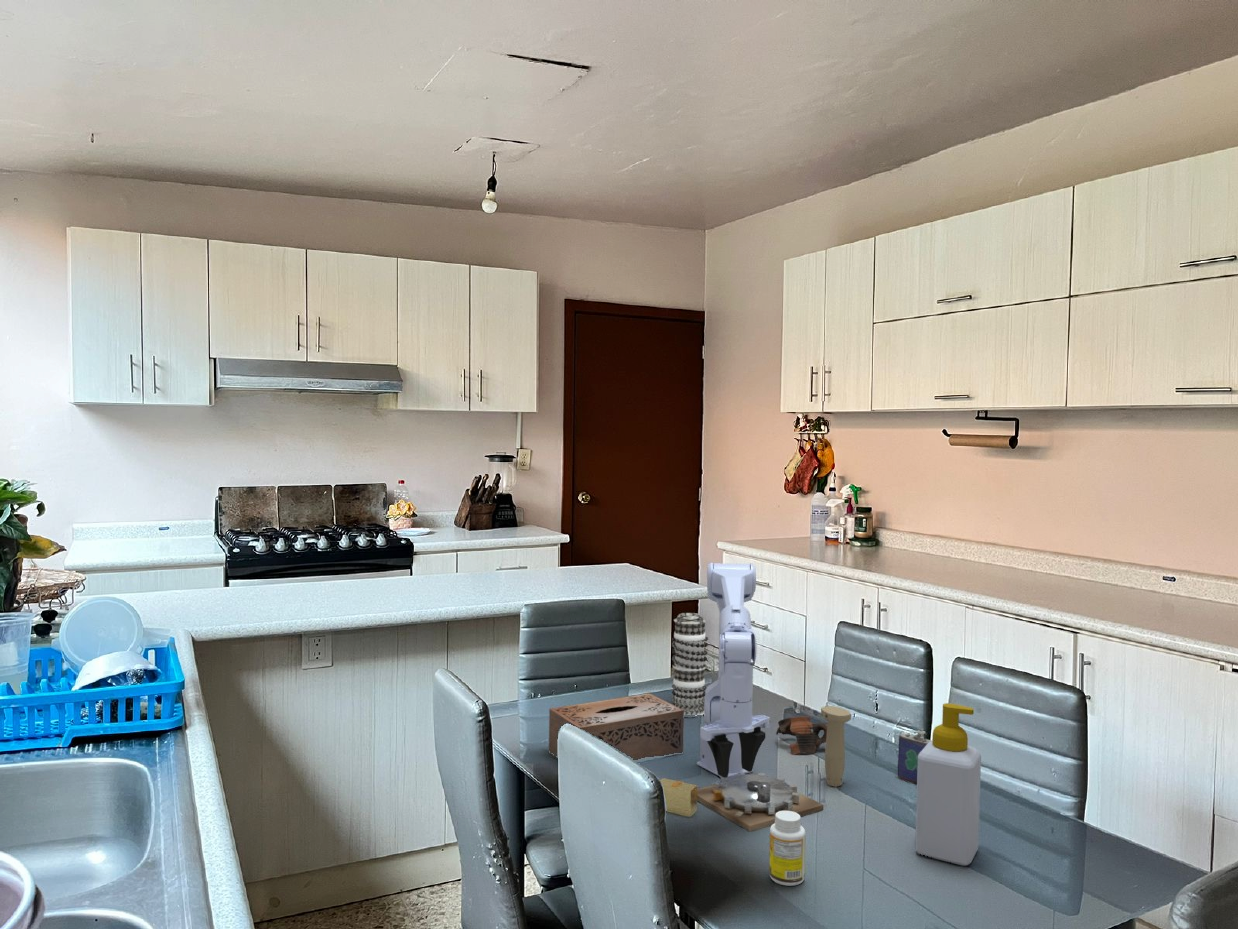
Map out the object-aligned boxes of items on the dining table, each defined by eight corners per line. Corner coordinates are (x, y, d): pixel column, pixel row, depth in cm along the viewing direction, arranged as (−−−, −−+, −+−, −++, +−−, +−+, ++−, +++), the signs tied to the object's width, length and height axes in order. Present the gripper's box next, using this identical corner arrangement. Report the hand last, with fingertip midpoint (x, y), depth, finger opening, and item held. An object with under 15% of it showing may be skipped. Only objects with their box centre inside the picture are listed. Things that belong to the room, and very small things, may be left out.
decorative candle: (708, 719, 222) (710, 618, 221) (671, 718, 222) (672, 618, 221) (705, 707, 231) (707, 611, 230) (669, 707, 231) (671, 610, 230)
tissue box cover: (578, 776, 185) (579, 728, 184) (548, 753, 197) (549, 708, 197) (682, 755, 197) (683, 710, 197) (648, 735, 210) (649, 693, 210)
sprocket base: (689, 796, 174) (689, 790, 174) (759, 778, 184) (759, 772, 184) (749, 831, 159) (750, 825, 159) (823, 810, 169) (823, 803, 169)
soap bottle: (969, 869, 146) (973, 717, 146) (913, 855, 151) (917, 707, 150) (979, 848, 154) (984, 703, 153) (926, 835, 159) (929, 694, 158)
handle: (835, 792, 178) (836, 717, 177) (814, 780, 183) (816, 707, 183) (854, 788, 180) (856, 714, 179) (833, 776, 185) (835, 705, 185)
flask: (944, 786, 181) (945, 734, 181) (939, 790, 179) (940, 737, 179) (900, 774, 187) (901, 724, 187) (894, 778, 185) (895, 727, 185)
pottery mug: (777, 757, 198) (771, 719, 202) (784, 762, 206) (778, 726, 210) (832, 748, 195) (824, 710, 199) (837, 754, 203) (829, 717, 207)
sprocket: (694, 790, 174) (695, 767, 174) (759, 774, 183) (760, 752, 183) (750, 821, 160) (751, 797, 160) (817, 802, 169) (818, 779, 169)
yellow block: (655, 809, 168) (656, 782, 168) (662, 804, 171) (663, 777, 171) (690, 817, 165) (690, 789, 165) (696, 811, 168) (697, 784, 167)
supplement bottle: (780, 866, 146) (781, 805, 146) (810, 878, 143) (812, 814, 143) (762, 879, 142) (763, 816, 142) (793, 891, 139) (795, 826, 138)
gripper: (718, 710, 154) (717, 788, 155) (781, 698, 162) (780, 772, 162) (693, 699, 160) (692, 774, 161) (756, 688, 168) (754, 760, 168)
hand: (734, 772), depth 162 cm, fingers open, 5 cm apart
